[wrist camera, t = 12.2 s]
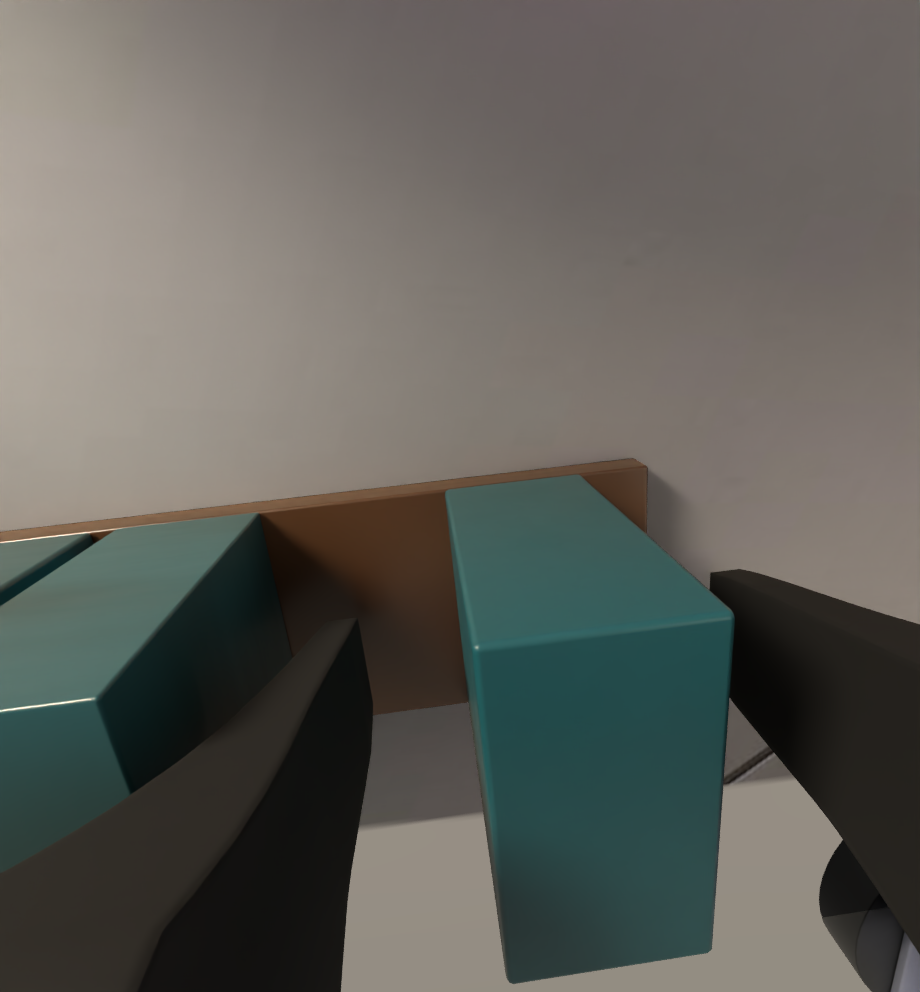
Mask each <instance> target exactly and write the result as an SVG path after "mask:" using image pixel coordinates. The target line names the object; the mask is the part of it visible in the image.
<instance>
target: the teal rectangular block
mask: <svg viewBox="0 0 920 992" xmlns="http://www.w3.org/2000/svg"><path fill="white" fill-rule="evenodd" d="M445 500H446V509H447V518H448V527H449V536H450V544H451V553H452V562H453V571H454V580H455V589H456V598H457V607H458V616H459V624H460V633H461V642H462V651H463V660H464V669H465V678H466V687H467V696H468V704H469V711H470V718H471V726H472V733H473V740H474V747H475V755H476V762H477V769H478V776H479V784H480V791H481V798H482V805H483V813H484V820H485V827H486V834H487V842H488V849H489V856H490V863H491V870H492V877H493V885H494V892H495V899H496V906H497V914H498V921H499V929H500V936H501V943H502V951H503V958H504V965H505V972H506V976H507V979H508V981H509V982H510V983H512V984H516V983H523V982H528V981H535V980H541V979H548V978H554V977H559V976H567V975H573V974H578V973H585V972H591V971H597V970H604V969H610V968H617V967H623V966H629V965H635V964H642V963H647V962H653V961H660V960H667V959H673V958H679V957H685V956H691V955H697V954H704V953H708V952H709V951H710V950H711V949H712V938H713V924H714V909H715V895H716V881H717V867H718V852H719V838H720V824H721V810H722V795H723V782H724V767H725V753H726V739H727V725H728V711H729V697H730V682H731V668H732V654H733V640H734V626H735V617H734V614H733V612H732V610H731V609H730V608H729V607H728V606H726V605H725V604H724V603H723V602H722V601H721V600H720V599H719V598H717V597H716V596H715V595H714V594H713V593H712V592H711V591H710V590H708V589H707V588H706V587H705V586H704V585H703V584H702V583H701V582H699V581H698V580H697V579H696V578H695V577H694V576H693V575H692V574H691V573H689V572H688V571H687V570H686V569H685V568H684V567H683V566H682V565H680V564H679V563H678V562H677V561H676V560H675V559H674V558H673V557H671V556H670V555H669V554H668V553H667V552H666V551H665V550H664V549H662V548H661V547H660V546H659V545H658V544H657V543H656V542H655V541H653V540H652V539H651V538H650V537H649V536H648V535H647V534H646V533H644V532H643V531H642V530H641V529H640V528H639V527H638V526H637V525H636V524H634V523H633V522H632V521H631V520H630V519H629V518H628V517H627V516H625V515H624V514H623V513H622V512H621V511H620V510H619V509H618V508H616V507H615V506H614V505H613V504H612V503H611V502H610V501H609V500H607V499H606V498H605V497H604V496H603V495H602V494H601V493H600V492H598V491H597V490H596V489H595V488H594V487H593V486H592V485H591V484H589V483H588V482H587V481H586V480H585V479H584V478H583V477H582V476H580V475H568V476H560V477H551V478H542V479H534V480H525V481H517V482H508V483H500V484H491V485H483V486H474V487H466V488H457V489H449V490H447V491H446V492H445Z"/></svg>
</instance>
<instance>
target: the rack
mask: <svg viewBox="0 0 920 992" xmlns="http://www.w3.org/2000/svg"><path fill="white" fill-rule="evenodd" d="M647 469H648V468H647V466H646V465H644V464H642V463H641V462H639V461H637V460H636V459H633V458H632V459H623V460H615V461H606V462H597V463H589V464H580V465H572V466H563V467H554V468H546V469H537V470H529V471H520V472H511V473H503V474H494V475H486V476H477V477H468V478H460V479H451V480H443V481H434V482H425V483H417V484H408V485H400V486H391V487H382V488H374V489H365V490H357V491H348V492H339V493H331V494H322V495H314V496H305V497H296V498H288V499H279V500H271V501H262V502H253V503H245V504H236V505H228V506H219V507H210V508H202V509H193V510H185V511H176V512H167V513H159V514H150V515H142V516H133V517H124V518H116V519H107V520H99V521H90V522H81V523H73V524H64V525H55V526H47V527H38V528H30V529H21V530H12V531H4V532H0V873H2V872H4V871H5V870H7V869H9V868H11V867H13V866H15V865H16V864H18V863H20V862H22V861H24V860H25V859H27V858H29V857H31V856H32V855H34V854H36V853H38V852H39V851H41V850H43V849H45V848H46V847H48V846H50V845H51V844H53V843H55V842H56V841H58V840H60V839H61V838H63V837H65V836H67V835H68V834H70V833H72V832H73V831H75V830H77V829H78V828H80V827H82V826H83V825H85V824H86V823H88V822H90V821H91V820H93V819H94V818H96V817H98V816H99V815H101V814H102V813H104V812H106V811H107V810H109V809H110V808H112V807H113V806H115V805H116V804H118V803H119V802H121V801H122V800H124V799H125V798H127V797H128V796H130V795H131V794H132V793H134V792H135V791H137V790H138V789H140V788H141V787H143V786H144V785H145V784H147V783H148V782H150V781H151V780H153V779H154V778H155V777H157V776H158V775H160V774H161V773H163V772H164V771H166V770H167V769H168V768H170V767H171V766H173V765H174V764H175V763H177V762H178V761H179V760H181V759H182V758H183V757H185V756H186V755H187V754H189V753H190V752H191V751H192V750H194V749H195V748H196V747H197V746H199V745H200V744H201V743H202V742H204V741H205V740H206V739H207V738H209V737H210V736H211V735H212V734H214V733H215V732H216V731H217V730H218V729H220V728H221V727H222V726H223V725H224V724H225V723H227V722H228V721H229V720H230V719H231V718H232V717H233V716H235V715H236V714H237V713H238V712H239V711H240V710H241V709H242V708H243V707H244V706H245V705H246V704H247V703H248V702H249V701H250V700H251V699H252V698H254V697H255V696H256V695H257V694H258V693H259V692H260V691H261V690H262V689H263V688H264V687H265V686H266V685H267V684H268V683H269V682H270V681H271V680H272V679H273V678H274V677H275V676H276V675H277V674H278V673H279V672H280V671H281V670H282V669H283V668H284V667H285V666H286V665H287V664H288V663H289V662H290V661H291V659H292V658H293V657H294V656H295V655H296V654H297V653H298V652H299V651H300V650H301V649H302V648H303V647H304V646H305V644H306V643H307V642H308V641H309V640H310V639H311V638H312V637H313V636H314V635H315V633H316V632H317V631H318V630H319V629H320V628H321V627H322V626H323V625H324V624H325V623H326V622H327V621H334V620H342V619H350V618H358V621H359V627H360V632H361V638H362V643H363V649H364V654H365V660H366V666H367V671H368V677H369V682H370V688H371V694H372V699H373V715H378V714H385V713H392V712H400V711H407V710H415V709H422V708H429V707H437V706H444V705H452V704H459V703H466V702H468V696H467V687H466V678H465V669H464V660H463V651H462V642H461V633H460V624H459V616H458V607H457V598H456V589H455V580H454V571H453V562H452V553H451V544H450V536H449V527H448V518H447V509H446V500H445V492H446V491H447V490H449V489H457V488H466V487H474V486H483V485H491V484H500V483H508V482H517V481H525V480H534V479H542V478H551V477H560V476H568V475H580V476H582V477H583V478H584V479H585V480H586V481H587V482H588V483H589V484H591V485H592V486H593V487H594V488H595V489H596V490H597V491H598V492H600V493H601V494H602V495H603V496H604V497H605V498H606V499H607V500H609V501H610V502H611V503H612V504H613V505H614V506H615V507H616V508H618V509H619V510H620V511H621V512H622V513H623V514H624V515H625V516H627V517H628V518H629V519H630V520H631V521H632V522H633V523H634V524H636V525H637V526H638V527H639V528H640V529H641V530H642V531H643V532H644V533H646V534H647Z"/></svg>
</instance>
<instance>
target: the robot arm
mask: <svg viewBox="0 0 920 992" xmlns="http://www.w3.org/2000/svg"><path fill="white" fill-rule="evenodd" d="M710 591H711V592H712V593H713V594H714V595H715V596H716V597H717V598H719V599H720V600H721V601H722V602H723V603H724V604H725V605H726V606H728V607H729V608H730V609H731V610H732V612H733V614H734V617H735V626H734V640H733V654H732V668H731V682H730V698H731V700H732V701H733V703H734V704H735V705H736V706H737V708H738V709H739V710H740V712H741V713H742V714H743V715H744V716H745V718H746V719H747V720H748V721H749V723H750V724H751V725H752V726H753V728H754V729H755V730H756V731H757V732H758V734H759V735H760V736H761V737H762V739H763V740H764V741H765V742H766V743H767V745H768V746H769V747H770V748H771V749H772V751H773V752H774V753H775V754H776V755H777V757H778V758H779V759H780V760H781V761H782V763H783V764H784V765H785V766H786V767H787V769H788V770H789V771H790V772H791V773H792V775H793V776H794V777H795V778H796V779H797V781H798V782H799V783H800V784H801V785H802V787H803V788H804V789H805V790H806V791H807V793H808V794H809V795H810V796H811V797H812V798H813V800H814V801H815V802H816V803H817V805H818V806H819V808H820V809H821V810H822V811H823V813H824V814H825V815H826V817H827V818H828V819H829V820H830V822H831V823H832V824H833V826H834V827H835V829H836V830H837V831H838V833H839V834H840V836H841V837H842V839H843V840H844V842H845V843H846V844H847V846H848V847H849V849H850V850H851V852H852V853H853V855H854V856H855V858H856V859H857V860H858V862H859V863H860V865H861V866H862V868H863V869H864V871H865V872H866V874H867V875H868V876H869V878H870V879H871V881H872V882H873V884H874V885H875V887H876V888H877V890H878V891H879V893H880V894H881V896H882V897H883V899H884V901H885V902H886V904H887V905H888V907H889V908H890V910H891V911H892V913H893V914H894V916H895V917H896V919H897V921H898V922H899V924H900V925H901V927H902V928H903V930H904V935H903V940H902V944H901V948H900V953H899V957H898V961H897V966H896V970H895V974H894V979H893V983H892V987H891V992H920V625H919V624H916V623H913V622H909V621H906V620H902V619H899V618H896V617H892V616H889V615H885V614H882V613H879V612H876V611H873V610H870V609H866V608H863V607H860V606H857V605H854V604H851V603H848V602H845V601H842V600H839V599H836V598H833V597H830V596H827V595H824V594H821V593H818V592H815V591H812V590H809V589H806V588H803V587H800V586H797V585H794V584H791V583H788V582H785V581H782V580H778V579H775V578H772V577H769V576H765V575H762V574H758V573H755V572H751V571H746V570H741V569H737V570H729V571H721V572H713V573H711V574H710ZM372 724H373V699H372V694H371V688H370V682H369V677H368V671H367V666H366V660H365V654H364V649H363V643H362V638H361V632H360V627H359V621H358V618H350V619H342V620H334V621H327V622H326V623H325V624H324V625H323V626H322V627H321V628H320V629H319V630H318V631H317V632H316V633H315V635H314V636H313V637H312V638H311V639H310V640H309V641H308V642H307V643H306V644H305V646H304V647H303V648H302V649H301V650H300V651H299V652H298V653H297V654H296V655H295V656H294V657H293V658H292V659H291V661H290V662H289V663H288V664H287V665H286V666H285V667H284V668H283V669H282V670H281V671H280V672H279V673H278V674H277V675H276V676H275V677H274V678H273V679H272V680H271V681H270V682H269V683H268V684H267V685H266V686H265V687H264V688H263V689H262V690H261V691H260V692H259V693H258V694H257V695H256V696H255V697H254V698H252V699H251V700H250V701H249V702H248V703H247V704H246V705H245V706H244V707H243V708H242V709H241V710H240V711H239V712H238V713H237V714H236V715H235V716H233V717H232V718H231V719H230V720H229V721H228V722H227V723H225V724H224V725H223V726H222V727H221V728H220V729H218V730H217V731H216V732H215V733H214V734H212V735H211V736H210V737H209V738H207V739H206V740H205V741H204V742H202V743H201V744H200V745H199V746H197V747H196V748H195V749H194V750H192V751H191V752H190V753H189V754H187V755H186V756H185V757H183V758H182V759H181V760H179V761H178V762H177V763H175V764H174V765H173V766H171V767H170V768H168V769H167V770H166V771H164V772H163V773H161V774H160V775H158V776H157V777H155V778H154V779H153V780H151V781H150V782H148V783H147V784H145V785H144V786H143V787H141V788H140V789H138V790H137V791H135V792H134V793H132V794H131V795H130V796H128V797H127V798H125V799H124V800H122V801H121V802H119V803H118V804H116V805H115V806H113V807H112V808H110V809H109V810H107V811H106V812H104V813H102V814H101V815H99V816H98V817H96V818H94V819H93V820H91V821H90V822H88V823H86V824H85V825H83V826H82V827H80V828H78V829H77V830H75V831H73V832H72V833H70V834H68V835H67V836H65V837H63V838H61V839H60V840H58V841H56V842H55V843H53V844H51V845H50V846H48V847H46V848H45V849H43V850H41V851H39V852H38V853H36V854H34V855H32V856H31V857H29V858H27V859H25V860H24V861H22V862H20V863H18V864H16V865H15V866H13V867H11V868H9V869H7V870H5V871H4V872H2V873H0V992H341V980H342V965H343V952H344V938H345V926H346V913H347V901H348V892H349V884H350V876H351V869H352V863H353V857H354V851H355V845H356V840H357V834H358V828H359V822H360V816H361V810H362V804H363V798H364V792H365V786H366V780H367V774H368V768H369V762H370V755H371V745H372Z"/></svg>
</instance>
